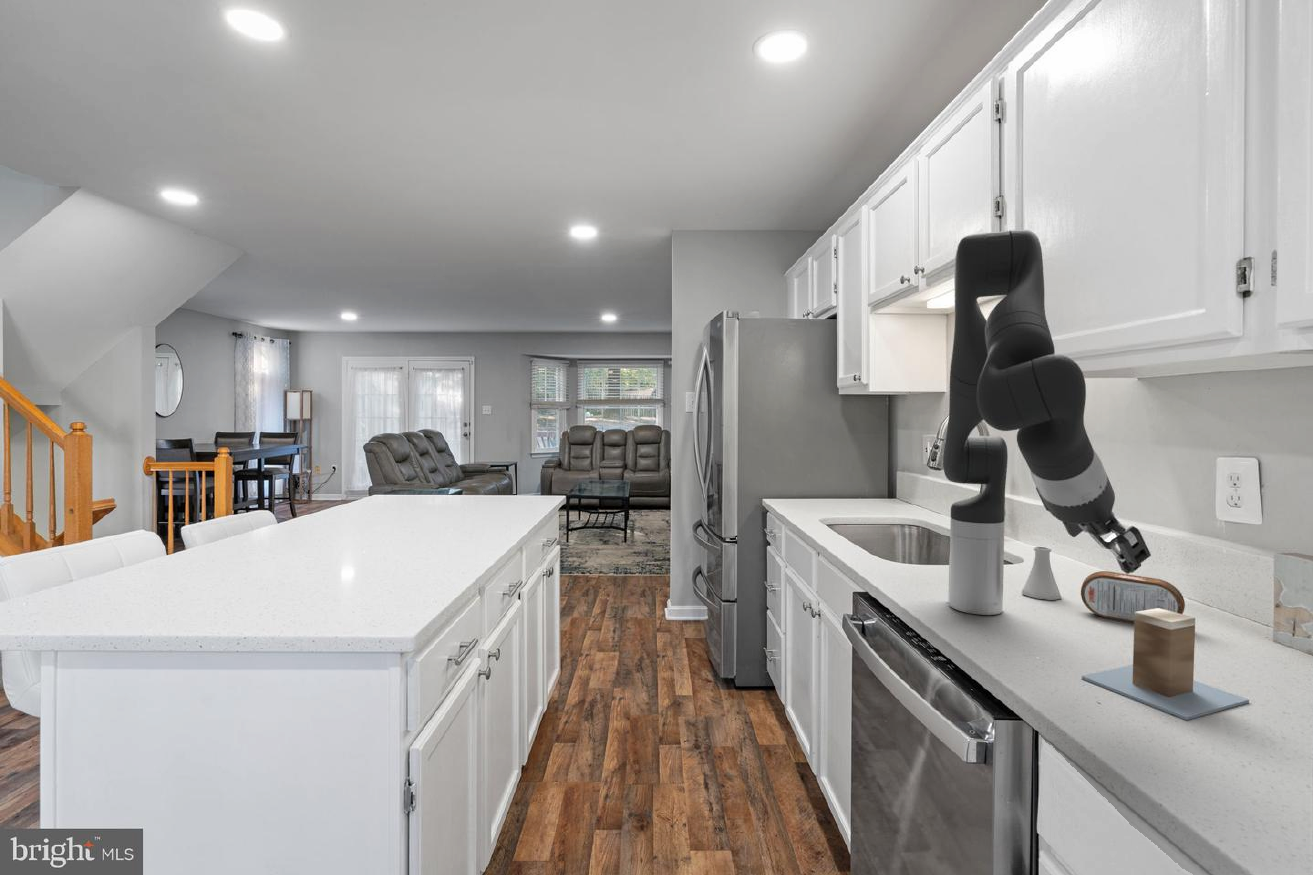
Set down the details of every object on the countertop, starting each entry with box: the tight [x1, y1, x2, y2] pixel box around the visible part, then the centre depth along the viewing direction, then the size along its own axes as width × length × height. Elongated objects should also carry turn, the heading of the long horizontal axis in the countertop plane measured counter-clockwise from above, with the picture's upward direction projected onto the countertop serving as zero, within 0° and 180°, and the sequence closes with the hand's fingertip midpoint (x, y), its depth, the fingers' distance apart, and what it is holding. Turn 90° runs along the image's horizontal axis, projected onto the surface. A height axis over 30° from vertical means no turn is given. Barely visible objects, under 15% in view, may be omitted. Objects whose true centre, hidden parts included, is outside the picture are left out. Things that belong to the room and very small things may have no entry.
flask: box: [1021, 545, 1062, 601], centre depth 130 cm, size 7×7×10 cm
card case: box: [1132, 608, 1196, 697], centre depth 86 cm, size 4×5×10 cm
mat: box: [1081, 664, 1250, 721], centre depth 86 cm, size 13×13×1 cm
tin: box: [1080, 570, 1186, 624], centre depth 114 cm, size 15×3×8 cm, turn 48°
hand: (1103, 549), depth 87 cm, fingers open, 8 cm apart
